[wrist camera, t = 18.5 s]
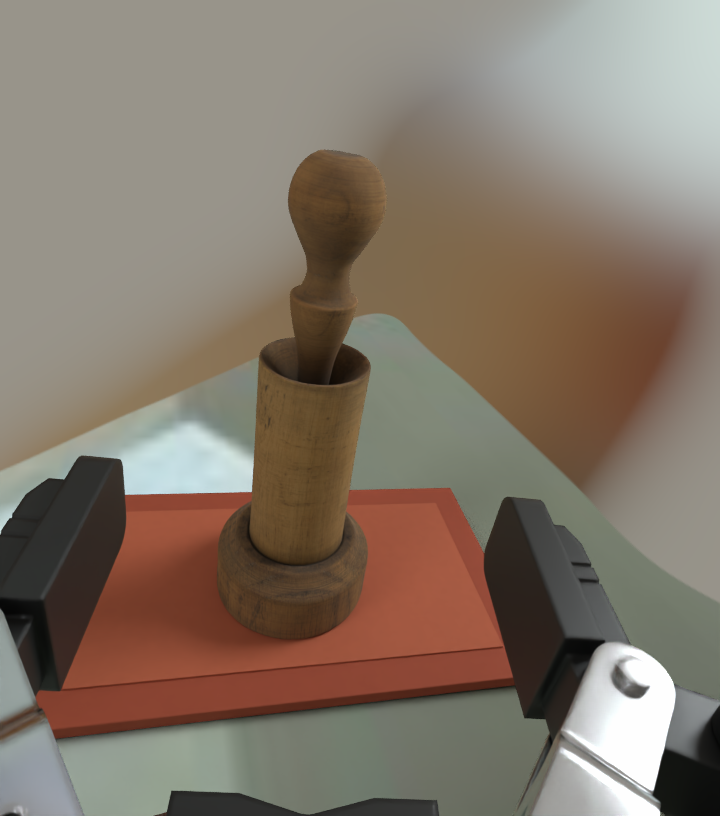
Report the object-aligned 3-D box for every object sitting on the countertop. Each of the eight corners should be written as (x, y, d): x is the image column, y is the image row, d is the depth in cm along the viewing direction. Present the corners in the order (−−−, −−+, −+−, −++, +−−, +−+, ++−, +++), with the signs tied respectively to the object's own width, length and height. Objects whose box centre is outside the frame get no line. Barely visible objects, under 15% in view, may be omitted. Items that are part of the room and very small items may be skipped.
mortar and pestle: (202, 540, 28) (210, 122, 19) (330, 517, 31) (391, 141, 21) (236, 659, 23) (269, 170, 14) (385, 619, 26) (496, 187, 16)
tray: (448, 495, 35) (450, 486, 35) (542, 682, 25) (547, 672, 25) (75, 504, 30) (74, 493, 29) (10, 744, 20) (6, 732, 20)
